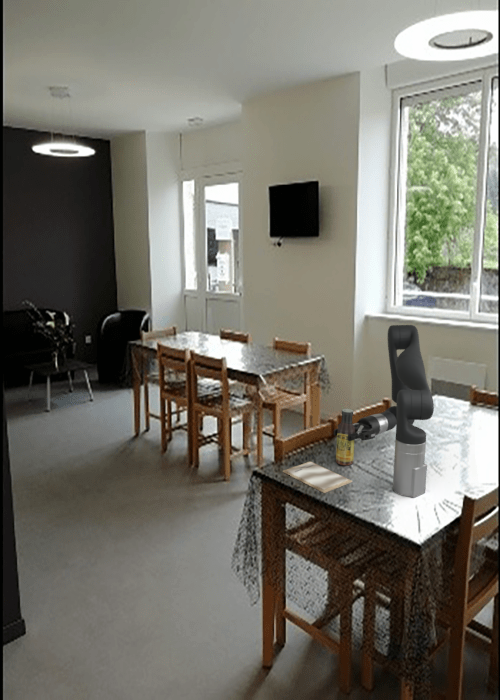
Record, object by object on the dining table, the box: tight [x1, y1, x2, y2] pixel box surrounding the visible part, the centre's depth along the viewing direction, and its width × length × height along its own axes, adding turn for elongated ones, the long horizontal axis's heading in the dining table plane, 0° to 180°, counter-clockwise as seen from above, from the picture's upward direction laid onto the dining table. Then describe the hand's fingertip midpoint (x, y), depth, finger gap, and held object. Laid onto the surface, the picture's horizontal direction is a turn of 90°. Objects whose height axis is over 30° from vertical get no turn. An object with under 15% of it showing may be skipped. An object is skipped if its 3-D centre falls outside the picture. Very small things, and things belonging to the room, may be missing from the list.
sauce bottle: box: [335, 408, 356, 466], centre depth 198 cm, size 7×6×20 cm
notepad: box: [282, 461, 353, 494], centre depth 189 cm, size 20×13×1 cm, turn 38°
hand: (341, 435), depth 196 cm, fingers closed on sauce bottle, 6 cm apart
